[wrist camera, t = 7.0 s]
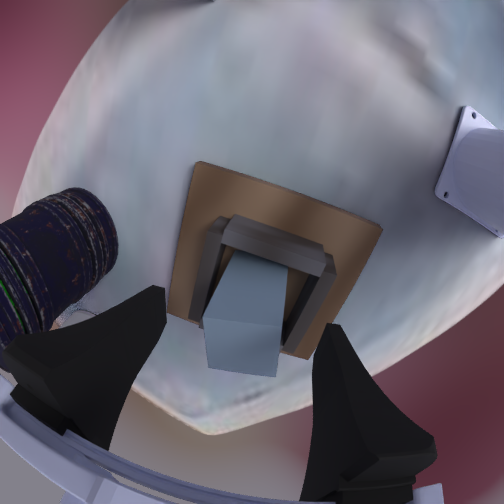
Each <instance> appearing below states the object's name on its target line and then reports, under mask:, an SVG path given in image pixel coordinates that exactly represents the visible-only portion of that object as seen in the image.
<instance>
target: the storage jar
mask: <svg viewBox="0 0 504 504" xmlns="http://www.w3.org/2000/svg"><path fill="white" fill-rule="evenodd" d="M117 255H118V237H117V232H116V229H115V226H114V223H113V220H112V218H111V216H110V214H109V212H108V211H107V209H106V207H105V206H104V205H103V204H102V202H101V201H100V200H99V199H98V198H97V197H96V196H95V195H93V194H92V193H91V192H89V191H87V190H85V189H82V188H75V187H74V188H69V189H66V190H64V191H62V192H60V193H57V194H53V195H49V196H47V197H45V198H43V199H41V200H39V201H36V202H34V203H32V204H31V205H29V206H27V207H26V208H25V209H24V210H23V212H22V213H20V214H18V215H16V216H15V217H13V218H11V219H9V220H7V221H5V222H3V223H2V224H0V368H1V369H2V370H4V371H6V372H8V373H11V372H10V370H9V369H8V367H7V366H6V364H5V362H4V360H3V357H2V351H3V350H4V349H5V348H6V347H7V346H8V345H9V344H10V343H11V342H12V341H13V340H14V338H15V337H16V336H17V335H22V334H32V333H40V332H46V331H49V330H50V329H51V327H52V325H53V321H54V320H55V319H56V318H57V317H58V316H59V315H60V314H61V313H62V312H63V311H64V310H65V309H66V308H67V307H68V306H69V305H70V304H74V303H76V302H77V301H79V300H80V299H81V298H82V297H83V296H84V295H85V294H86V293H88V292H89V291H90V290H91V289H93V288H94V287H95V286H96V285H97V283H98V282H99V280H100V279H101V278H102V277H103V276H104V275H106V274H107V273H108V272H109V271H110V270H111V269H112V268H113V266H114V265H115V262H116V260H117Z"/></svg>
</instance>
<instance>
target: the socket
mask: <svg viewBox="0 0 504 504" xmlns="http://www.w3.org/2000/svg"><path fill="white" fill-rule="evenodd" d="M382 231H383V229H382V228H381V226H380V225H378V224H376V223H374V222H371V221H369V220H367V219H364V218H362V217H360V216H357V215H355V214H352V213H350V212H347V211H345V210H342V209H340V208H337V207H335V206H332V205H330V204H327V203H325V202H322V201H319V200H317V199H314V198H311V197H309V196H306V195H303V194H301V193H298V192H295V191H292V190H289V189H287V188H284V187H281V186H278V185H275V184H272V183H269V182H266V181H263V180H260V179H257V178H254V177H251V176H248V175H245V174H242V173H239V172H236V171H232V170H229V169H226V168H223V167H219V166H216V165H213V164H209V163H206V162H202V161H199V162H196V164H195V168H194V172H193V176H192V180H191V184H190V189H189V193H188V198H187V202H186V207H185V211H184V216H183V221H182V226H181V231H180V236H179V241H178V246H177V252H176V257H175V263H174V269H173V275H172V281H171V287H170V293H169V300H168V307H167V313H169V314H172V315H174V316H177V317H179V318H182V319H185V320H187V321H190V322H192V323H195V324H198V325H199V328H201V329H204V326H203V315H204V313H205V311H206V309H207V307H208V305H209V303H210V300H211V298H212V296H213V294H214V292H215V290H216V288H217V286H218V284H219V282H220V280H221V278H222V276H223V274H224V272H225V270H226V268H227V266H228V264H229V262H230V260H231V258H232V256H233V254H234V252H235V250H240V251H246V252H249V253H251V254H254V255H257V256H260V257H263V258H266V259H269V260H272V261H274V262H277V263H280V264H283V265H286V266H288V274H287V285H286V295H285V305H284V314H283V324H282V332H281V340H280V349H279V353H280V352H281V353H285V354H288V355H292V356H295V357H299V358H302V359H306V360H308V359H309V358H310V356H311V355H312V353H313V352H314V350H315V349H316V347H317V346H318V343H319V341H320V339H321V336H322V334H323V331H324V329H325V326H326V324H327V323H332V322H333V320H334V319H335V317H336V315H337V314H338V312H339V310H340V309H341V307H342V305H343V304H344V302H345V300H346V299H347V297H348V295H349V293H350V292H351V290H352V288H353V286H354V285H355V283H356V281H357V279H358V277H359V275H360V274H361V272H362V270H363V268H364V266H365V264H366V262H367V260H368V259H369V257H370V255H371V253H372V251H373V249H374V247H375V245H376V243H377V241H378V239H379V237H380V235H381V233H382Z"/></svg>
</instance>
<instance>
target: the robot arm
mask: <svg viewBox="0 0 504 504" xmlns="http://www.w3.org/2000/svg"><path fill="white" fill-rule="evenodd" d="M472 113H473V114H474V118H473V117H472ZM445 192H447V195H446V197H444V193H445ZM435 195H436V196H437V197H438V198H440V199H442V200H443V201H445V202H447V203H448V204H450V205H452V206H453V207H455V208H457V209H458V210H460V211H461V212H463V213H465V214H466V215H468V216H469V217H471V218H472V219H474V220H475V221H477V222H478V223H480V224H481V225H483V226H484V227H485V228H487V229H488V230H490V231H491V232H493V233H494V234H495V235H497V236H498V237H499V238H501V239H502V238H504V131H503V130H498V129H497V128H496V127H495V126H494V125H493V124H491V123H490V122H489V121H488V120H487V119H486V118H484V117H483V116H482V115H481V114H479V113H478V112H477V111H476V110H474V109H473V108H472V107H470V106H464V107H463V109H462V113H461V117H460V120H459V123H458V127H457V130H456V133H455V136H454V139H453V142H452V145H451V148H450V151H449V154H448V157H447V159H446V162H445V165H444V168H443V170H442V173H441V175H440V178H439V180H438V183H437V185H436V188H435ZM495 229H496V230H495ZM166 323H167V319H166V301H165V288H162V287H159V286H155V285H152V286H150V287H148V288H146V289H145V290H143V291H141V292H139V293H138V294H136V295H134V296H133V297H131V298H129V299H127V300H126V301H124V302H122V303H120V304H118V305H117V306H115V307H113V308H111V309H109V310H107V311H105V312H103V313H101V314H99V315H96V316H94V317H92V318H89V319H87V320H84V321H82V322H79V323H76V324H73V325H69V326H66V327H63V328H59V329H55V330H51V331H46V332H40V333H32V334H22V335H17V336H16V337H15V338H14V340H13V341H12V342H11V343H10V344H9V345H8V346H7V347H6V348H5V349H4V350H3V351H2V357H3V360H4V362H5V364H6V366H7V367H8V369H9V370H10V372H11V374H12V375H13V376H14V378H15V380H16V381H17V383H18V384H17V385H16V387H14V386H13V385H12V384H11V383H10V382H9V381H8V380H7V379H6V378H5V377H3V376H2V375H1V374H0V438H1V439H2V440H3V441H4V442H5V443H6V444H7V445H8V446H9V447H11V448H12V449H13V450H14V451H15V452H16V453H17V454H18V455H19V456H21V457H22V458H23V459H24V460H25V461H27V462H28V463H29V464H30V465H31V466H33V467H34V468H35V469H36V470H38V471H39V472H40V473H42V474H43V475H44V476H46V477H47V478H48V479H50V480H51V481H52V482H54V483H55V484H57V485H58V486H60V487H61V488H63V489H64V490H66V492H65V493H64V495H63V497H62V499H61V501H60V503H59V504H177V503H174V502H171V501H168V500H165V499H162V498H159V497H156V496H153V495H151V494H148V493H145V492H142V491H140V490H137V489H135V488H132V487H129V486H127V485H125V484H122V483H120V482H119V481H118V480H116V479H115V478H114V477H113V476H112V474H111V473H110V472H108V471H106V470H105V469H107V470H109V471H111V472H113V473H115V474H117V475H120V476H122V477H124V478H126V479H128V480H131V481H133V482H135V483H138V484H140V485H143V486H145V487H148V488H150V489H153V490H156V491H158V492H161V493H164V494H167V495H170V496H173V497H176V498H180V499H183V500H186V501H190V502H193V503H197V504H444V501H443V492H442V484H441V483H438V484H434V485H430V486H425V487H421V488H418V489H415V490H412V484H414V483H415V482H416V477H415V475H416V474H418V473H419V472H421V471H423V470H424V469H426V468H427V467H429V466H430V465H431V464H432V463H433V462H434V461H435V460H436V459H437V451H436V445H435V441H434V437H433V436H432V435H430V434H429V433H428V432H426V431H425V430H423V429H422V428H421V427H419V426H418V425H417V424H415V423H414V422H413V421H412V420H410V419H409V418H408V417H407V416H406V415H405V414H403V412H401V411H400V410H399V409H398V408H397V407H396V406H395V405H394V404H393V403H392V402H391V401H390V400H389V398H388V397H387V396H386V395H385V394H384V393H383V392H382V390H381V389H380V388H379V386H378V385H377V384H376V383H375V381H374V380H373V379H372V377H371V376H370V374H369V373H368V371H367V370H366V369H365V367H364V366H363V364H362V362H361V361H360V359H359V357H358V356H357V354H356V352H355V351H354V349H353V347H352V345H351V343H350V342H349V340H348V338H347V336H346V334H345V332H344V331H343V329H342V327H341V325H338V324H332V323H327V324H326V326H325V329H324V331H323V334H322V336H321V339H320V341H319V343H318V346H317V348H316V351H315V353H314V358H313V369H312V392H313V428H312V437H311V445H310V452H309V458H308V464H307V470H306V475H305V480H304V484H303V488H302V492H301V496H300V500H299V501H287V500H277V499H268V498H259V497H253V496H246V495H240V494H235V493H230V492H225V491H220V490H216V489H212V488H208V487H204V486H199V485H196V484H192V483H189V482H185V481H182V480H179V479H176V478H173V477H170V476H167V475H163V474H161V473H158V472H155V471H153V470H150V469H147V468H145V467H142V466H140V465H137V464H135V463H132V462H130V461H128V460H126V459H123V458H121V457H119V456H117V455H115V454H113V453H111V452H109V451H108V450H109V447H110V443H111V440H112V436H113V433H114V429H115V427H116V423H117V421H118V418H119V415H120V412H121V410H122V407H123V405H124V402H125V400H126V397H127V395H128V393H129V391H130V388H131V386H132V384H133V382H134V380H135V378H136V376H137V374H138V373H139V371H140V370H141V368H142V366H143V365H144V363H145V362H146V360H147V358H148V357H149V355H150V354H151V352H152V350H153V349H154V347H155V346H156V344H157V342H158V341H159V339H160V336H161V334H162V332H163V330H164V327H165V325H166ZM98 465H99V466H98ZM100 466H101V467H103V468H105V469H103V468H101V467H100Z"/></svg>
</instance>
